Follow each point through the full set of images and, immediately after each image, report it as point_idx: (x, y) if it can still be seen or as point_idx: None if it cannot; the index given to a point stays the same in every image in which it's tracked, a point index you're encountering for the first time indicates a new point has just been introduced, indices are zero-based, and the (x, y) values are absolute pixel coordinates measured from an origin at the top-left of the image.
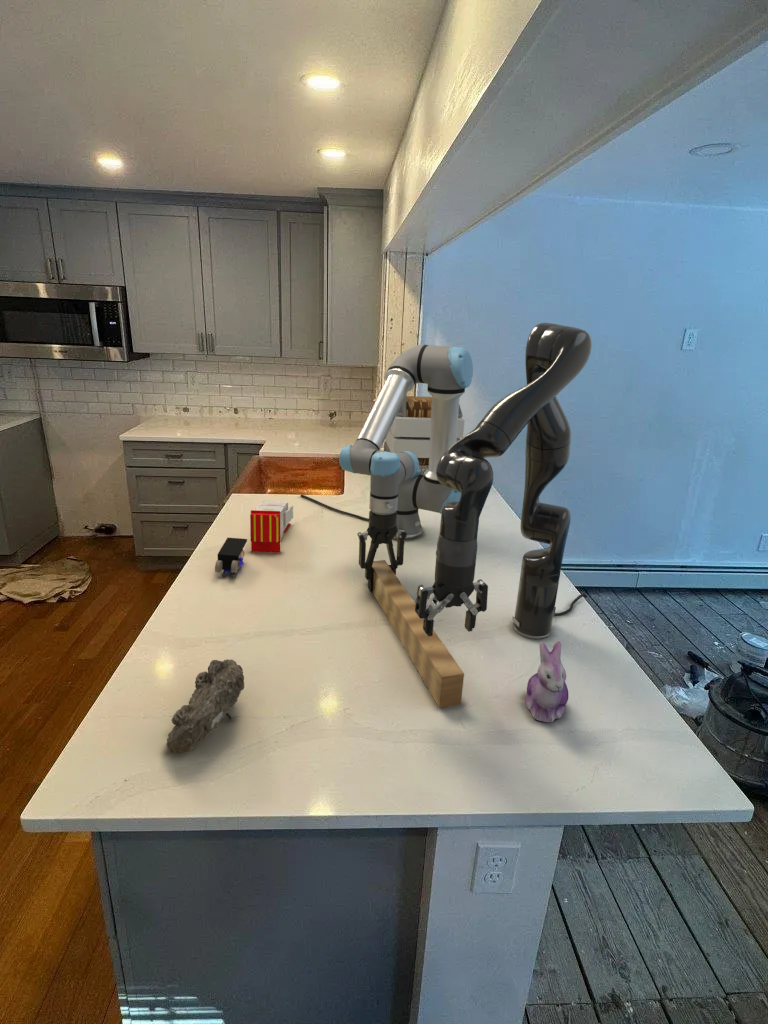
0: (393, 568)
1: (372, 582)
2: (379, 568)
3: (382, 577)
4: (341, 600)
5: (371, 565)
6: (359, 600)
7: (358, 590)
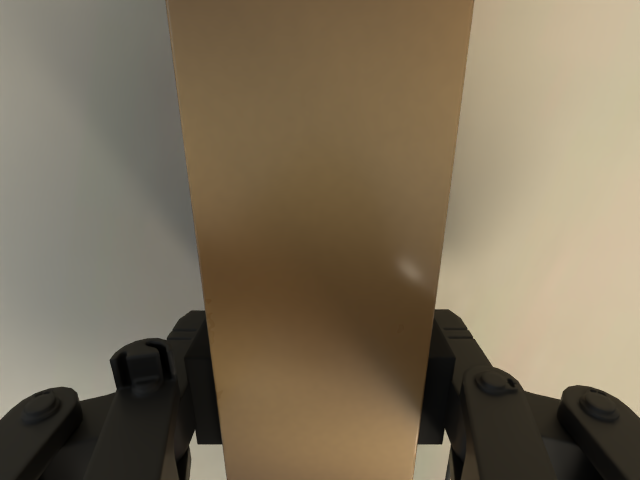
0: (176, 371)
1: None
2: (353, 373)
3: (409, 111)
4: (621, 194)
5: (479, 414)
6: (504, 167)
7: (455, 297)
